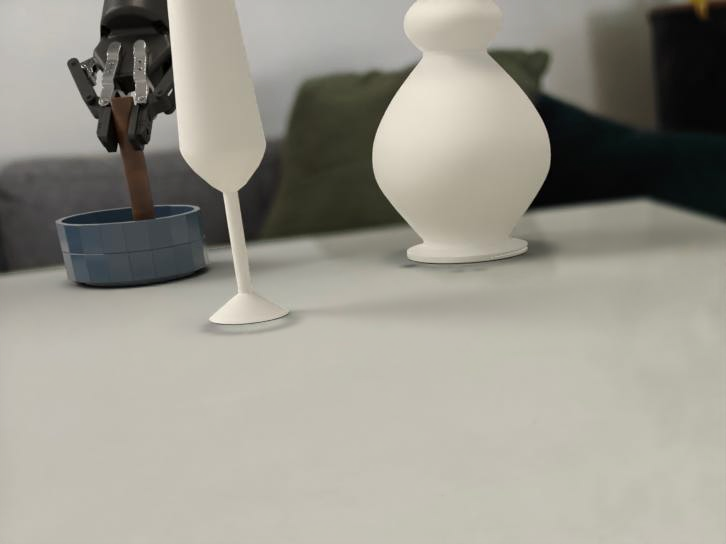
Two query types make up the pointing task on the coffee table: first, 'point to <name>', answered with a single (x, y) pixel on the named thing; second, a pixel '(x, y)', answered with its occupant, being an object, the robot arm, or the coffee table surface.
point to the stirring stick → (132, 162)
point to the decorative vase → (460, 139)
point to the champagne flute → (219, 126)
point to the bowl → (133, 245)
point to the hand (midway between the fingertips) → (122, 145)
